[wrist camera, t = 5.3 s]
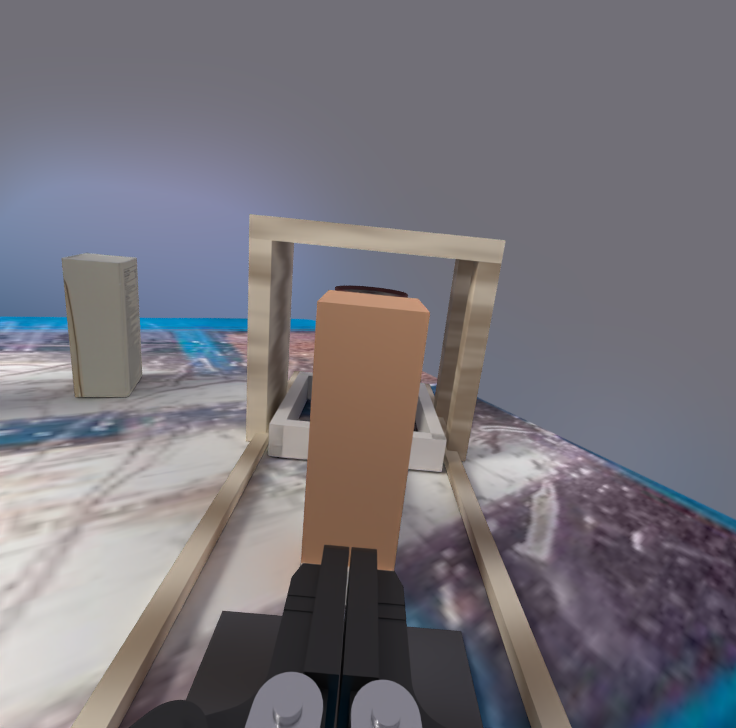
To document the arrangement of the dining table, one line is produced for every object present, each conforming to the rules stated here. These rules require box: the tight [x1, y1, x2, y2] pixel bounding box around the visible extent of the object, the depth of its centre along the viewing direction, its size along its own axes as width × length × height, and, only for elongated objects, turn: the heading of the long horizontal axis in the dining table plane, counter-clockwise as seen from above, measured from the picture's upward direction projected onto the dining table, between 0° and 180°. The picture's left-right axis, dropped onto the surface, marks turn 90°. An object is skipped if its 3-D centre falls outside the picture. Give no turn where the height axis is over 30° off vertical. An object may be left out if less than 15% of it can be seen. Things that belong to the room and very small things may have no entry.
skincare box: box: [62, 253, 142, 397], centre depth 37 cm, size 6×4×12 cm
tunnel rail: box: [71, 214, 572, 728], centre depth 26 cm, size 39×17×16 cm, turn 179°
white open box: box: [268, 290, 447, 605], centre depth 28 cm, size 24×12×13 cm, turn 179°
